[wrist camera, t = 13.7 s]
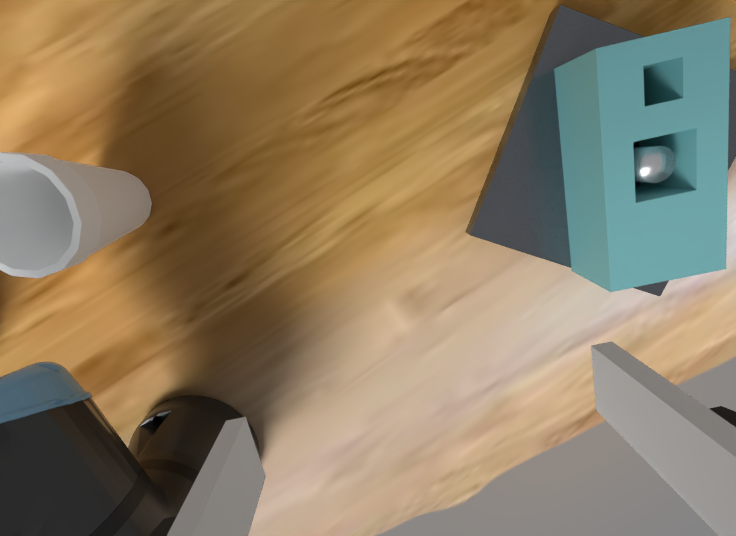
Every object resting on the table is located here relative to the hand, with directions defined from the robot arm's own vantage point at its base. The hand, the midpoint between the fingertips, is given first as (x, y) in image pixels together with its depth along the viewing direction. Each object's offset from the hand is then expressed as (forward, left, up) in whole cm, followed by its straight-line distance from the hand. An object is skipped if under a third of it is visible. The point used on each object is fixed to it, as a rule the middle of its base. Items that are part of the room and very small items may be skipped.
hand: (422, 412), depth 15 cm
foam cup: (-4, +28, -30) cm, 41 cm away
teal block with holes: (+15, -19, -28) cm, 37 cm away
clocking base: (+15, -19, -30) cm, 38 cm away
